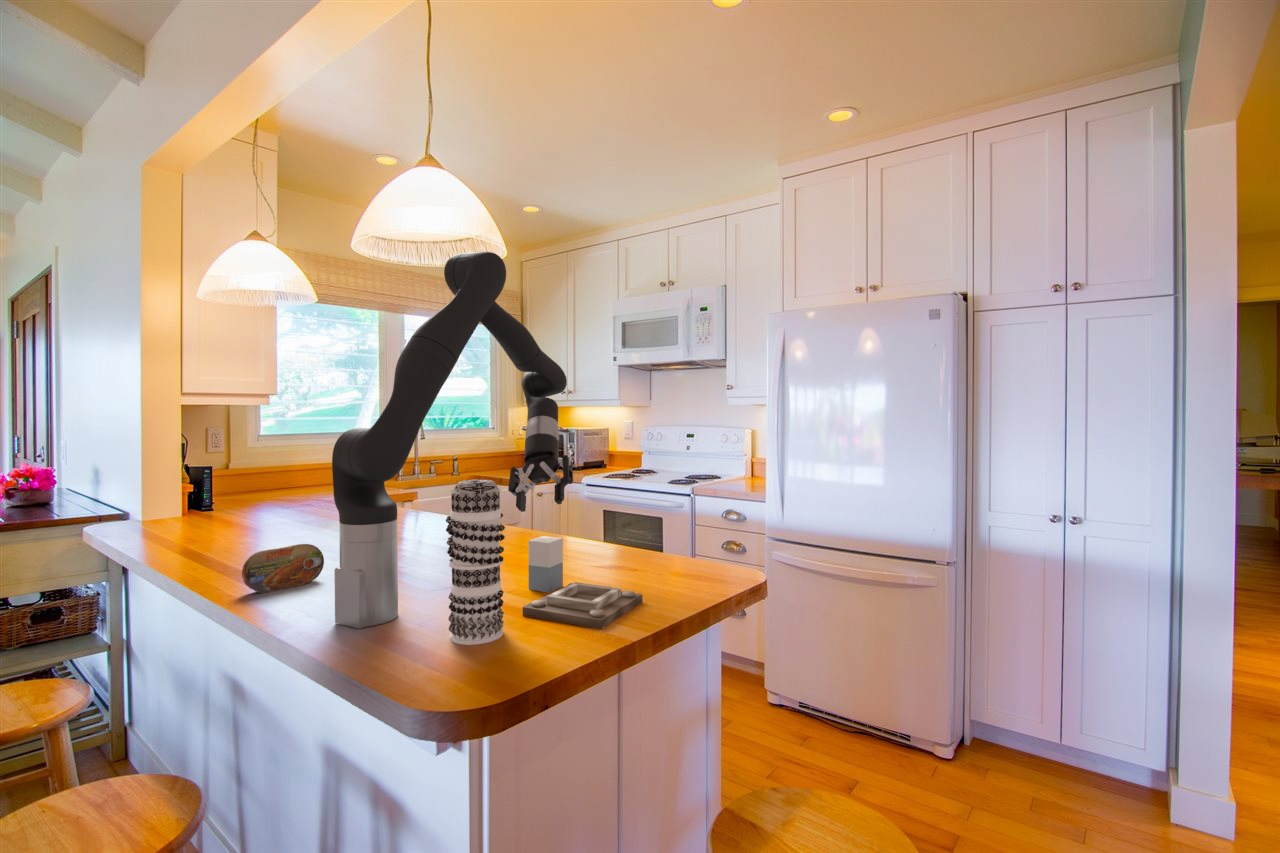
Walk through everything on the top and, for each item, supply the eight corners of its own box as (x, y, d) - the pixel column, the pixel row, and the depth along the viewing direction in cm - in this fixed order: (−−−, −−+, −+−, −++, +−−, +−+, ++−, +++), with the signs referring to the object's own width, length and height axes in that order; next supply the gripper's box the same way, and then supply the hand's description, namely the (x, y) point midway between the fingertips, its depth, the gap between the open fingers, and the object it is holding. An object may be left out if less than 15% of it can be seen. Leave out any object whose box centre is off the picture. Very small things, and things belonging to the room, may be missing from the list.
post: (549, 592, 121) (549, 542, 121) (528, 589, 123) (528, 540, 123) (562, 586, 125) (562, 538, 125) (542, 583, 128) (542, 536, 127)
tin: (246, 597, 118) (245, 554, 117) (239, 594, 120) (239, 552, 119) (325, 580, 130) (324, 541, 129) (318, 577, 132) (317, 539, 131)
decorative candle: (444, 629, 100) (443, 479, 100) (500, 622, 104) (500, 477, 103) (448, 649, 92) (447, 485, 91) (510, 640, 95) (509, 482, 95)
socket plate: (601, 629, 100) (601, 611, 100) (522, 615, 107) (522, 598, 107) (642, 602, 115) (642, 586, 115) (570, 591, 122) (570, 576, 122)
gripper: (505, 439, 134) (500, 506, 126) (563, 425, 131) (563, 492, 122) (521, 455, 140) (518, 519, 132) (577, 441, 137) (578, 507, 128)
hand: (539, 506), depth 127 cm, fingers open, 8 cm apart
